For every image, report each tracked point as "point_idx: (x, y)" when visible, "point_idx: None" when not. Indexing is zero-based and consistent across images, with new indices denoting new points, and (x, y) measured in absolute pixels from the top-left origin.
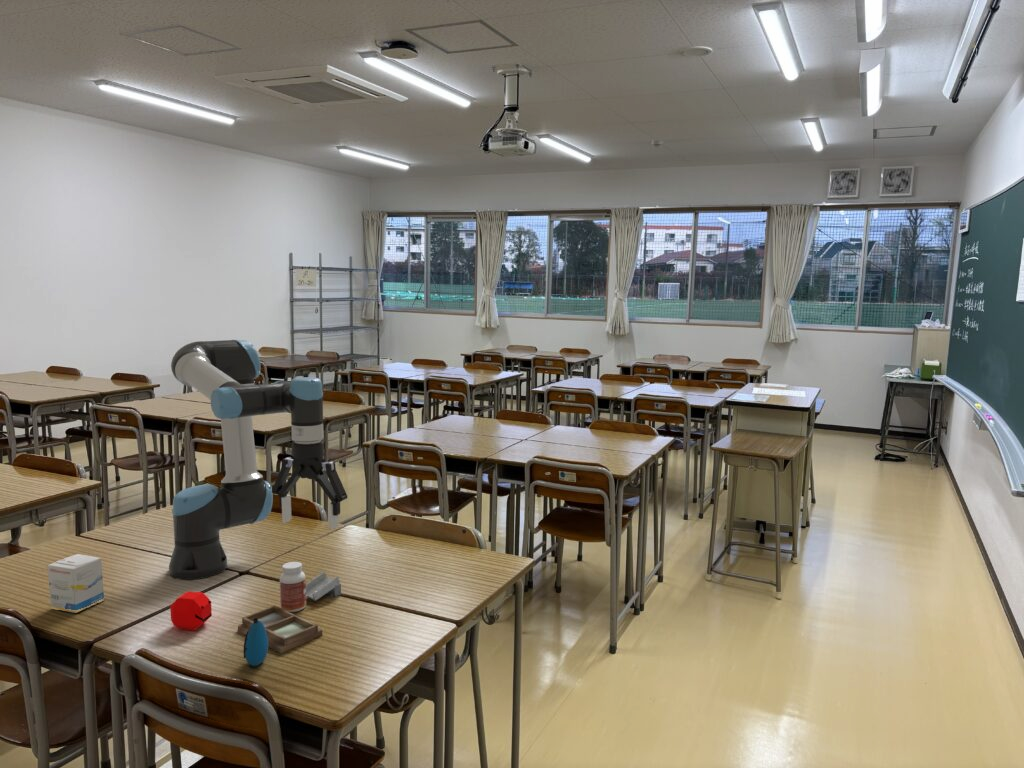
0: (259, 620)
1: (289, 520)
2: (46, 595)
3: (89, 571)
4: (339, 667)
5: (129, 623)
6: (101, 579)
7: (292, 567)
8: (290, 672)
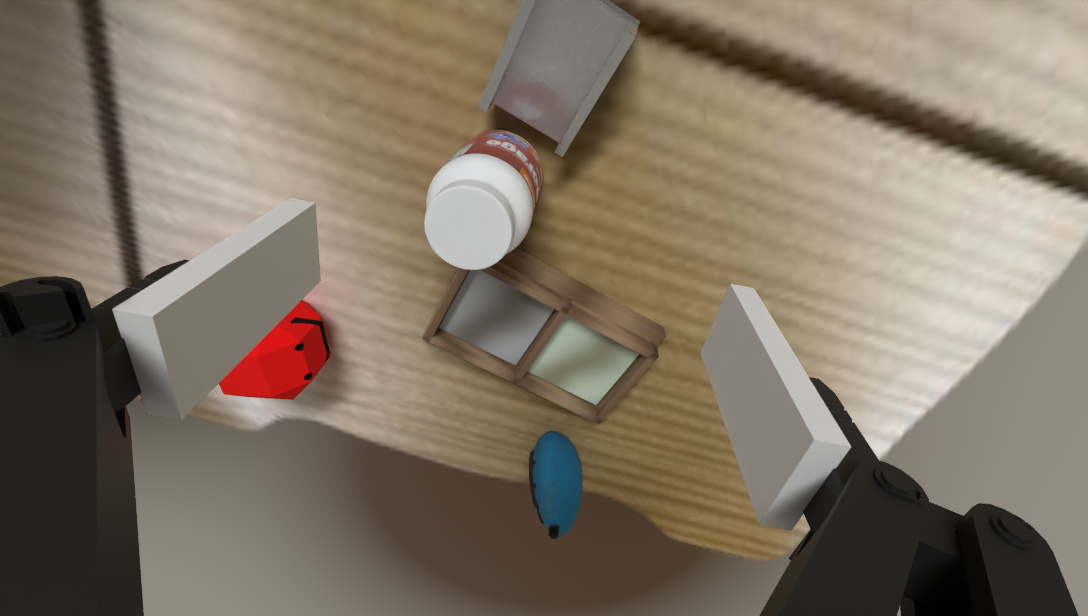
0: (463, 311)
1: (315, 228)
2: None
3: None
4: None
5: None
6: None
7: (484, 257)
8: (645, 467)
